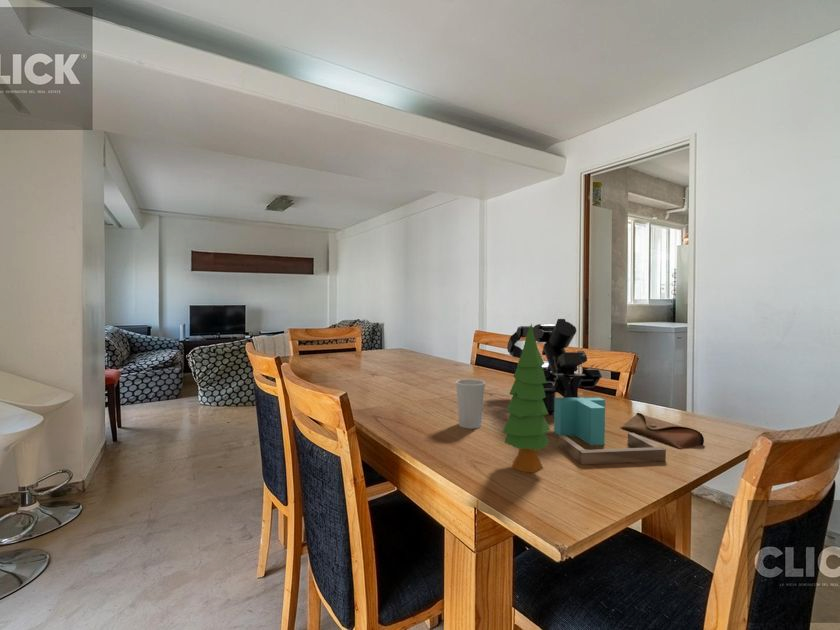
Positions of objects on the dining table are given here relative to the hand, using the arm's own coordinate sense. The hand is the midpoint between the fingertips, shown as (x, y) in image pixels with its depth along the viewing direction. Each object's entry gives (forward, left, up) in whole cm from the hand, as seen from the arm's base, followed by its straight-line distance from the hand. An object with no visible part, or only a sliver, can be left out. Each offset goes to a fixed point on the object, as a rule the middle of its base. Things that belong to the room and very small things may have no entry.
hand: (575, 405), depth 105 cm
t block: (+4, +4, -7) cm, 9 cm away
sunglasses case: (-10, +18, -7) cm, 22 cm away
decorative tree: (+30, -1, -7) cm, 31 cm away
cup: (+14, -24, -7) cm, 29 cm away
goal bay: (+11, +11, -7) cm, 17 cm away
